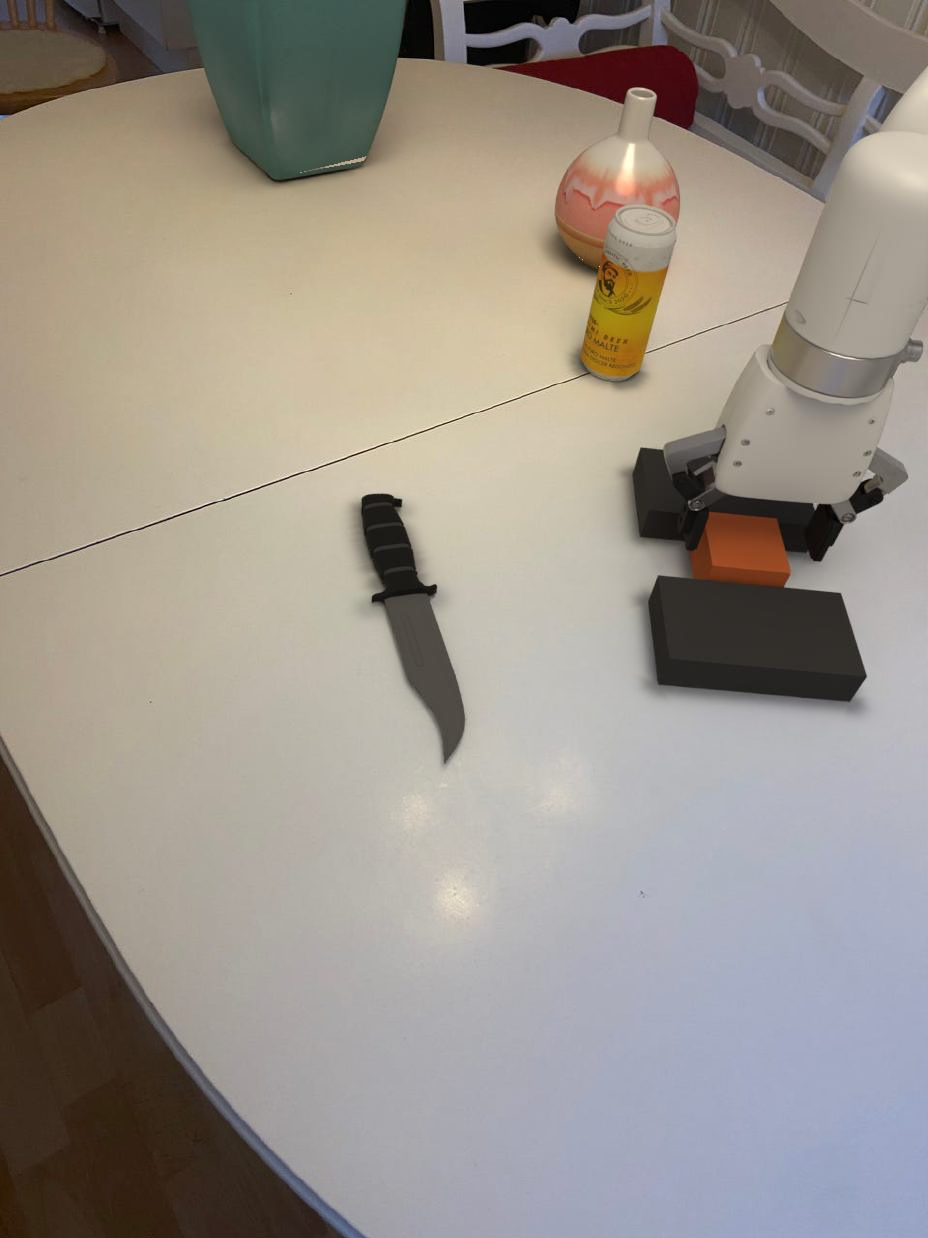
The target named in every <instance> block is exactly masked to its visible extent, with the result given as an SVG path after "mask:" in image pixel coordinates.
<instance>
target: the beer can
mask: <svg viewBox="0 0 928 1238" xmlns="http://www.w3.org/2000/svg"><path fill="white" fill-rule="evenodd" d="M677 238H678V237H677V230H676V228H675V220H674V218H673V217H672V216H671V215H670V214H668V213H667V212H665V211H663V210H661V209H658V208H655V207H652V206H647V205H627V206H623V207H621V208H619V209H618V210H617V211H616V214H615V216H614V217H613V219H612V220H611V221H610V223H609V225H608V230H607V234H606V239H605V244H604V248H603V253H602V257H601V262H600V267H599V270H598V271H597V276H596V281H595V285H594V290H593V294H592V298H591V299H592V300H591V304H590V308H589V312H588V318H587V322H586V328H585V331H584V336H583V341H582V345H581V351H580V360H581V362H582V363H583V364H584V367H585V369H586V370H587V371H588V372H589V373H590V374H591V375H593V376H594V377H596V378H598V379H601V380H605V381H610V382H620V381H625V380H627V379H629V378H631V377H632V376H633V375H634V374H636V373H638V372H639V371H640V369H642V365H643V362H644V358H645V354H646V351H647V346H648V343H649V339H650V336H651V332H652V329H653V325H654V321H655V318H656V314H657V310H658V306H659V303H660V299H661V295H662V293H663V288H664V285H665V282H666V277H667V274H668V271H669V268H670V264H671V260H672V256H673V253H674V249H675V245H676V241H677Z"/></svg>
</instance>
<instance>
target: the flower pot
mask: <svg viewBox="0 0 928 1238" xmlns="http://www.w3.org/2000/svg"><path fill="white" fill-rule="evenodd" d="M185 2H186V9H187V12H188V16H189V20H190V21H189V22H190V25H191V28H192V32H193V36H194V40H195V44H196V47H197V50H198V55H199V58H200V61H201V64H202V67H203V71H204V73H205V76H206V79H207V82H208V85H209V89H210V91H211V94H212V96H213V99H214V102H215V104H216V107H217V110H218V112H219V115H220V118H221V120H222V122H223V125H224V127H225V130H226V132H227V135H228V137H229V138H230V141H231V143H233V145H235V146H236V147H237V148H238V149H239V150H240V151H241V152H242V153H244V154H245V155H246V157H248V159H250V160H251V161H252V162H254V163H255V164H256V165H257V166H258V167H259V168H260V169H261V170H262V171H264V172H265V173H266V174H267V175H268V176H270V178H271V179H273V180H276V181H282V180H283V181H284V180H289V179H295V178H300V177H306V176H307V177H308V176H312V175H313V176H314V175H319V174H323V173H330V172H335V171H340V170H348V169H353V168H357V167H362V166H363V165H364V164H365V161H366V159H365V160H364V161H361V162H356V163H351V164H345V165H340V166H334V167H329V168H323V169H318V170H312V169H316V168H320V167H325V166H329V165H334V164H338V163H341V162H345V161H350V160H354V159H358V158H362V157H365V156H367V157H368V154H369V152H370V151H371V148H372V145H373V143H374V140H375V137H376V136H377V132H378V130H379V127H380V125H381V122H382V119H383V116H384V112H385V110H386V105H387V102H388V99H389V95H390V92H391V88H392V84H393V80H394V77H395V73H396V67H397V63H398V59H399V53H400V49H401V48H400V47H401V42H402V37H403V36H402V35H403V29H404V21H405V15H406V14H405V12H406V5H407V4H406V3H407V0H185ZM308 170H312V171H308ZM304 171H307V172H304ZM300 172H302V173H300Z"/></svg>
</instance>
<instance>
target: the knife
mask: <svg viewBox="0 0 928 1238" xmlns="http://www.w3.org/2000/svg"><path fill="white" fill-rule="evenodd" d="M402 507H403V499H402V498H397V497H395V496H394V495H392V494H390V493H383V492H381V493H368V494H365V495H363V496H362V497H361V516H362V526H363V534H364V537H365V541H366V545H367V548H368V551H369V555H370V557H371V559H372V564H373V565H374V567H375V569H376V571H377V573H378V575H379V577H380V579H381V581H382V585H383V586H384V588H385V589H384V591H382V592H376V593H374V594H372V595H371V604H373V603H385V606H386V607H385V608H386V611H387V614H388V617H389V620H390V623H391V625H392V626H391V627H392V629H393V633H394V635H395V639H396V643H397V646H398V649H399V653H400V656H401V659H402V663H403V666H404V669H405V672H406V677H407V679H408V680H409V681H410V683H411V684H412V685H413V686H414V687H415V689H416V690H417V691H418V692H419V694H420V695H421V696H422V698H424V700H425V701H426V702H427V705H429V707H430V708H431V710H432V712H433V713H434V715H435V717H436V719H437V722H438V724H439V727H440V731H441V734H442V745H443V762H444V763H443V764H444V765H446V764H447V762H448V760H450V757H452V755H453V753H454V752H455V750H456V749H457V747H458V746H459V744H460V742H461V739H462V738H463V735H464V731H465V727H466V726H465V725H466V713H465V707H464V701H463V697H462V693H461V690H460V686H459V682H458V679H457V675H456V673H455V670H454V667H453V664H452V662H451V658H450V655H449V653H448V650H447V647H446V644H445V642H444V641H445V640H444V638H443V635H442V632H441V629H440V627H439V624H438V621H437V618H436V615H435V613H434V609H433V606H432V603H431V599H430V598H429V597H430V596H433V595H436V594H437V592H438V585H437V584H436V583H433V584H431V585H425V584H424V583H423V582H421V580H420V579H419V577H418V571H417V567H416V559H415V554H414V550H413V548H412V543H411V541H410V538H409V537H410V536H409V535H408V532H407V529H406V527H405V524H404V522H403V520H402V517H401V516H400V514H399V512H398V510H397V509H396V508H402Z"/></svg>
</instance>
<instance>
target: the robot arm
mask: <svg viewBox="0 0 928 1238" xmlns="http://www.w3.org/2000/svg"><path fill="white" fill-rule="evenodd" d="M829 188H830V189H829V191H828V193H827V197H826V200H825V203H824V205H823V208H822V210H821V212H820V215H819V218H818V222H817V224H816V226H815V229H814V232H813V234H812V237H811V240H810V241H809V244H808V245H809V246H808V247H807V251H806V253H805V256H804V259H803V261H802V264H801V266H800V269H799V272H798V274H797V276H796V279H795V282H794V284H793V288H792V290H791V293H790V295H789V298H788V300H787V303H786V306H785V309H784V311H783V314H782V317H781V319H780V322H779V324H778V328H777V330H776V333H775V335H774V337H773V341H772V343H771V344H761V345H759V346H758V347H757V348H756V350H755V351H754V352H753V354H752V355H751V357H750V358H749V360H748V361H747V363H746V365H745V366H744V368H743V370H742V371H741V372H740V374H739V377H738V378H737V380H736V382H735V383H734V386H733V388H732V390H731V391H730V393H729V395H728V397H727V399H726V401H725V404H724V406H723V408H722V410H721V412H720V415H719V417H718V419H717V421H716V423H715V426H714V428H713V429H710V430H707V431H703V432H699V433H696V434H693V435H689V436H686V437H682V438H678V439H675V440H672V441H668V442H666V443H665V444H663V447H662V448H663V449H662V450H663V451H664V457H665V462H666V465H667V468H668V471H669V474H670V476H671V479H672V483H673V486H674V487H675V488H676V490H677V491H678V492H679V493H680V494H681V495H682V496H683V498H684V499H685V500H684V503H683V506H682V508H681V511H680V514H679V517H678V523H677V528H678V533H679V534H684V540H685V541H684V546H685V549H686V550H685V551H688V552H689V551H694V550H695V549H697V547H698V544H699V542H700V539H701V536H702V534H703V531H704V529H705V526H706V523H707V521H708V518H709V509H708V506H709V505H710V504H712V503H714V502H715V501H717V500H719V499H720V498H722V497H724V496H725V495H727V494H729V495H733V496H739V497H747V498H757V499H767V500H778V501H790V502H802V503H813V504H817V506H816V508H815V512H814V514H813V516H812V518H811V520H810V522H809V524H808V526H807V528H806V530H805V533H804V537H805V541H806V544H807V548H808V551H807V552H808V554H809V558H810V560H812V561H813V562H819V563H820V562H822V561H823V559H824V557H825V555H826V554H827V552H828V550H829V548H831V547H833V546H834V545H835V543H836V541H837V539H838V537H839V535H840V534H841V532H842V530H843V528H844V526H845V525H849V524H852V523H853V522H855V521H856V520H857V518H858V516H857V515H859V514H860V513H863V512H865V511H867V510H869V509H871V508H873V507H876V506H877V505H879V504H881V503H882V502H883V501H884V499H885V496H886V495H890V494H891V493H893V491H895V490H896V489H898V488H899V487H900V486H902V485H903V484H904V483H906V482H907V480H908V479H909V474H908V471H907V469H906V467H905V465H904V463H903V462H901V461H900V460H899V459H897V458H896V457H894V456H892V455H891V454H889V453H888V452H886V451H884V450H883V449H882V448H880V447H878V445H879V443H880V440H881V438H882V435H883V432H884V428H885V425H886V422H887V419H888V414H889V412H890V407H891V404H892V399H893V395H894V390H895V378H894V376H895V374H896V371H897V370H898V368H899V366H900V365H902V364H906V363H907V362H909V363H917V362H919V361H920V360H921V358H922V355H923V352H924V342H923V341H922V340H916V339H912V338H911V336H912V335H913V332H914V331H915V328H916V326H917V325H918V323H919V320H920V319H921V316H922V314H923V312H924V310H925V308H926V307H927V305H928V65H927V66H926V67H925V68H924V70H923V71H922V72H921V73H920V74H919V75H918V77H916V79H915V80H914V81H913V82H912V84H911V85H910V86H909V87H908V88H907V90H906V91H905V93H904V94H903V95H902V96H901V97H900V99H898V101H897V102H896V103H895V105H894V106H893V108H892V109H891V110H890V112H889V114H888V115H887V117H886V118H885V120H884V121H883V123H882V124H881V126H880V127H879V129H878V131H877V132H875V133H871V134H869V135H867V136H864V137H862V138H860V139H858V140H857V141H856V142H855V143H854V144H852V145H851V147H850V148H849V149H848V150H847V151H846V153H845V155H844V156H843V157H842V160H841V161H840V164H839V166H838V169H837V170H836V172H835V175H834V178H833V181H832V183H831V186H830V187H829ZM707 456H708V458H714V460H712V461H711V462H709V463H707V464H706V465H704V466H703V467H701V468H700V469H698V470H696V471H695V472H692V471H691V469H690V468H689V467H688V466H687V465H686V464H687V463H688V462H690V461H692V460H696V459H700V458H703V457H707ZM868 470H869V471H870V472H872V473H873V474H874V475H873V476H872V477H871V478H867V479H865V480H864V477H865V475H866V473H867V471H868ZM714 479H715V482H713V483H711V484H710V485H708V486H707V487H705V485H706V484H708V483H709V482H711V481H713V480H714Z"/></svg>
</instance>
